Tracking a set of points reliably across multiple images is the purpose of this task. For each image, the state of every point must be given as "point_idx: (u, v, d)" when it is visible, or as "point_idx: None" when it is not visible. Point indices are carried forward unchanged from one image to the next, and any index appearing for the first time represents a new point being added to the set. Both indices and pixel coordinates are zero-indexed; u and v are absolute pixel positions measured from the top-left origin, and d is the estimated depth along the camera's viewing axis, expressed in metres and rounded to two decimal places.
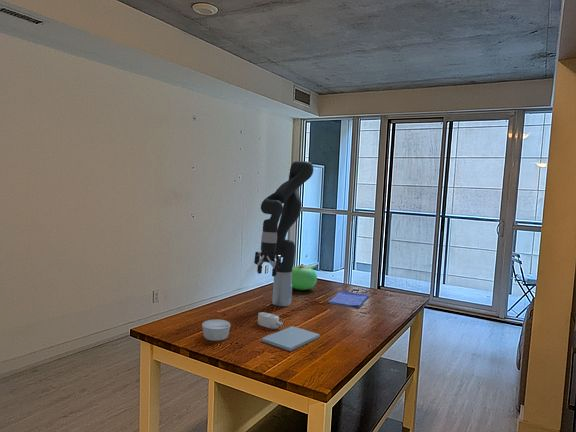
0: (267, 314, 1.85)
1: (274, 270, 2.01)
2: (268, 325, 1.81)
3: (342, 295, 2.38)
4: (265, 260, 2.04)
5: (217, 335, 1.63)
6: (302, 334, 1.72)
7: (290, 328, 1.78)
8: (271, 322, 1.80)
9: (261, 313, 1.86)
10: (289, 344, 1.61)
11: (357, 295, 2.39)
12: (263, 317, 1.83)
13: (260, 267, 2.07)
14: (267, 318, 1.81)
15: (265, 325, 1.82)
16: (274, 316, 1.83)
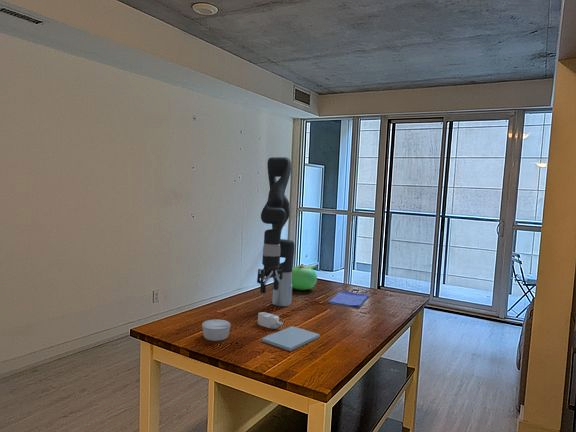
0: (267, 314, 1.85)
1: None
2: (268, 325, 1.81)
3: (342, 295, 2.38)
4: (271, 276, 1.82)
5: (217, 335, 1.63)
6: (302, 334, 1.72)
7: (290, 328, 1.78)
8: (271, 322, 1.80)
9: (261, 313, 1.86)
10: (289, 344, 1.61)
11: (357, 295, 2.39)
12: (263, 317, 1.83)
13: None
14: (267, 318, 1.81)
15: (265, 325, 1.82)
16: (274, 316, 1.83)
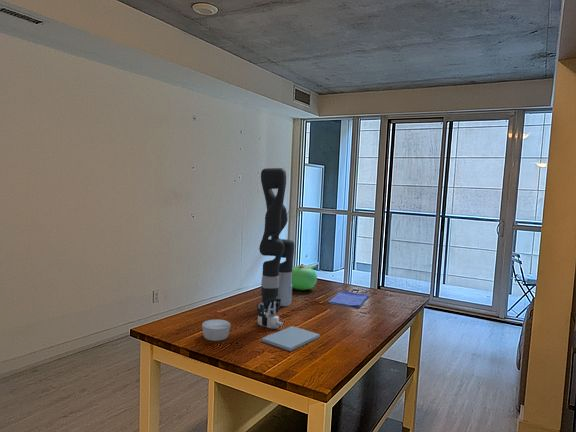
0: None
1: None
2: (268, 325, 1.81)
3: (342, 295, 2.38)
4: (271, 306, 1.83)
5: (217, 335, 1.63)
6: (302, 334, 1.72)
7: (290, 328, 1.78)
8: (271, 322, 1.80)
9: (261, 313, 1.86)
10: (289, 344, 1.61)
11: (357, 295, 2.39)
12: None
13: None
14: (267, 318, 1.81)
15: None
16: (274, 316, 1.83)
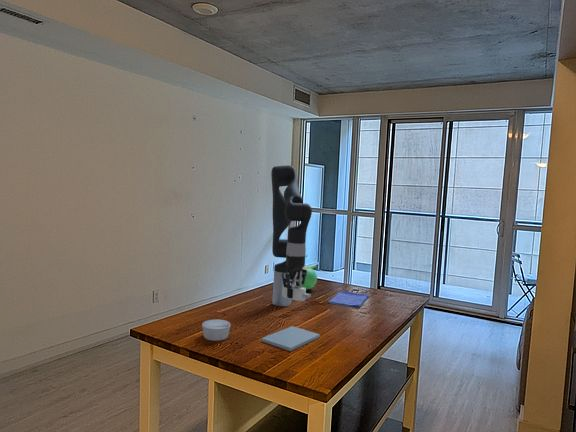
0: None
1: None
2: (294, 297, 1.65)
3: (342, 295, 2.38)
4: (297, 276, 1.67)
5: (217, 335, 1.63)
6: (302, 334, 1.72)
7: (290, 328, 1.78)
8: (297, 293, 1.64)
9: None
10: (289, 344, 1.61)
11: (357, 295, 2.39)
12: None
13: None
14: (293, 289, 1.65)
15: None
16: (300, 287, 1.67)
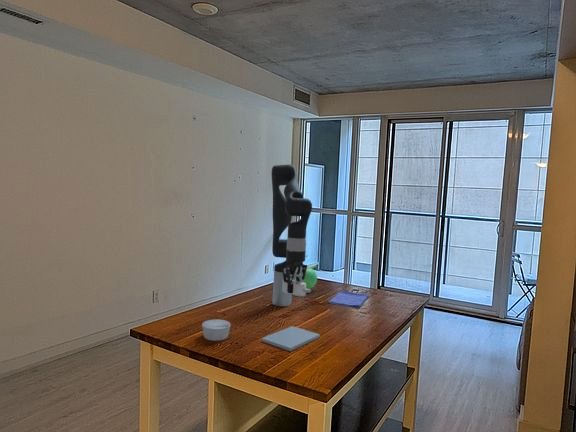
0: None
1: None
2: (294, 292, 1.65)
3: (342, 295, 2.38)
4: (297, 271, 1.67)
5: (217, 335, 1.63)
6: (302, 334, 1.72)
7: (290, 328, 1.78)
8: (298, 289, 1.64)
9: None
10: (289, 344, 1.61)
11: (357, 295, 2.39)
12: None
13: None
14: (294, 285, 1.65)
15: None
16: (301, 282, 1.67)
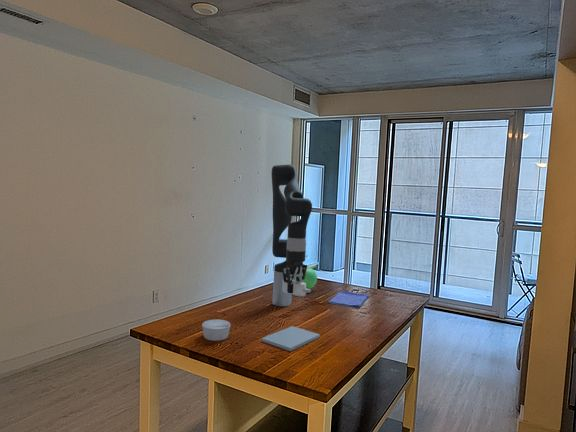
0: None
1: None
2: (294, 292, 1.65)
3: (342, 295, 2.38)
4: (297, 271, 1.67)
5: (217, 335, 1.63)
6: (302, 334, 1.72)
7: (290, 328, 1.78)
8: (298, 289, 1.64)
9: None
10: (289, 344, 1.61)
11: (357, 295, 2.39)
12: None
13: None
14: (294, 285, 1.65)
15: None
16: (301, 282, 1.67)
